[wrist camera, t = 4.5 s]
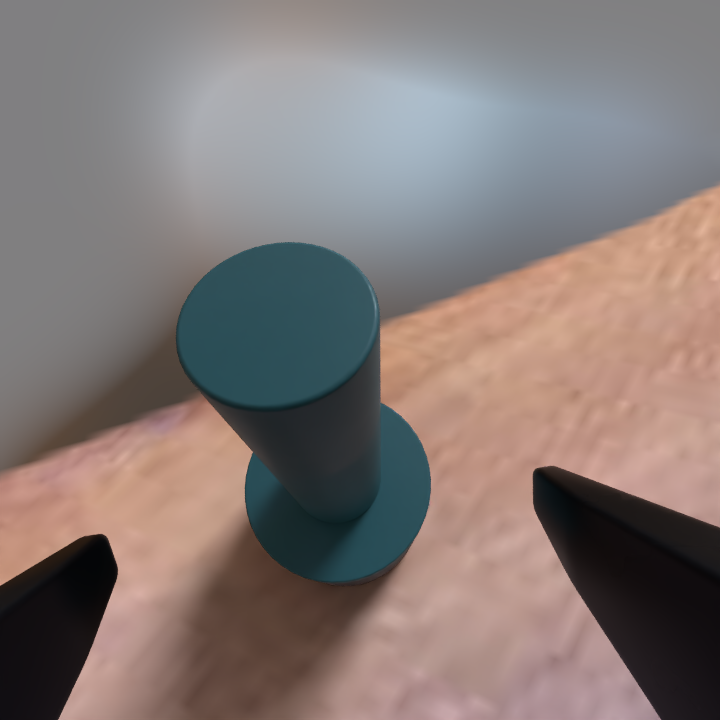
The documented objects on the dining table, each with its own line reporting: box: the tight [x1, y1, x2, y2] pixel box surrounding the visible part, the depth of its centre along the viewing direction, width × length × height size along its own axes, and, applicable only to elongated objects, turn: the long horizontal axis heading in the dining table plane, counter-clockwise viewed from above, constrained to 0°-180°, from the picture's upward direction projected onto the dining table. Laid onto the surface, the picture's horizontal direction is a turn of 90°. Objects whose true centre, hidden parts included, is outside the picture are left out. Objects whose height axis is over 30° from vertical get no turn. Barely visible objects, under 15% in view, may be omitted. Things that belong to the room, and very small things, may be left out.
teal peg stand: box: [176, 242, 431, 586], centre depth 12 cm, size 6×6×14 cm
